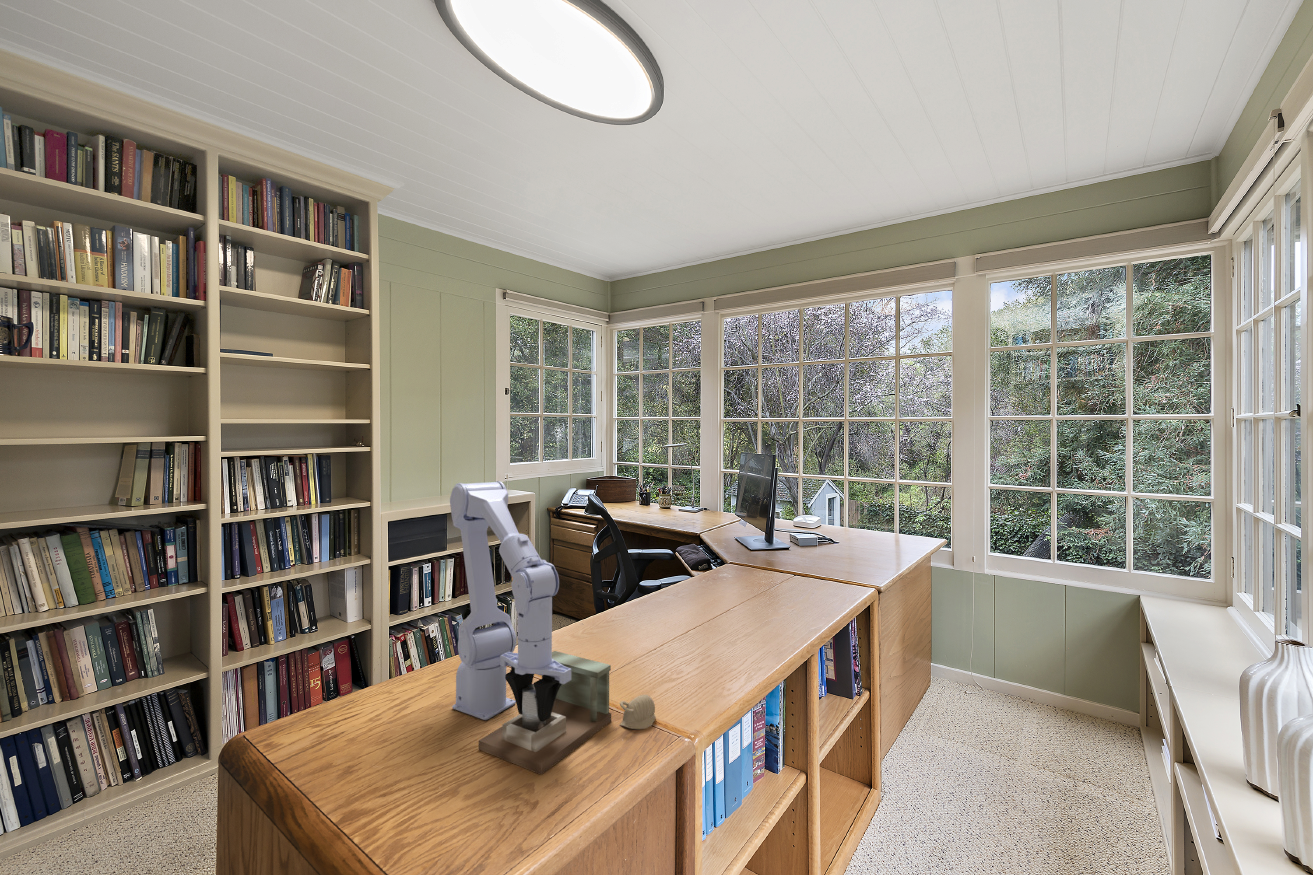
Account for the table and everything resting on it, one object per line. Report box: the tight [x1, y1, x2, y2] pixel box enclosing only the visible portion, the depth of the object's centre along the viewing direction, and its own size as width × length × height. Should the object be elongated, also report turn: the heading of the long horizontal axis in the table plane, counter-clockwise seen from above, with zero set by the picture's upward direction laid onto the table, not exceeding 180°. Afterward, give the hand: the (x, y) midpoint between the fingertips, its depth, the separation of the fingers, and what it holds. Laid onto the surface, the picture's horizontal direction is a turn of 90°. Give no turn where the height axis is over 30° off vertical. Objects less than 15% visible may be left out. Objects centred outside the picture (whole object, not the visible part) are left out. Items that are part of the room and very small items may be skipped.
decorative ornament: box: [619, 694, 657, 730], centre depth 100 cm, size 4×8×5 cm, turn 127°
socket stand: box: [478, 650, 612, 776], centre depth 97 cm, size 14×19×10 cm
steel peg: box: [522, 683, 546, 732], centre depth 94 cm, size 4×4×8 cm
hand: (534, 715), depth 94 cm, fingers open, 4 cm apart
